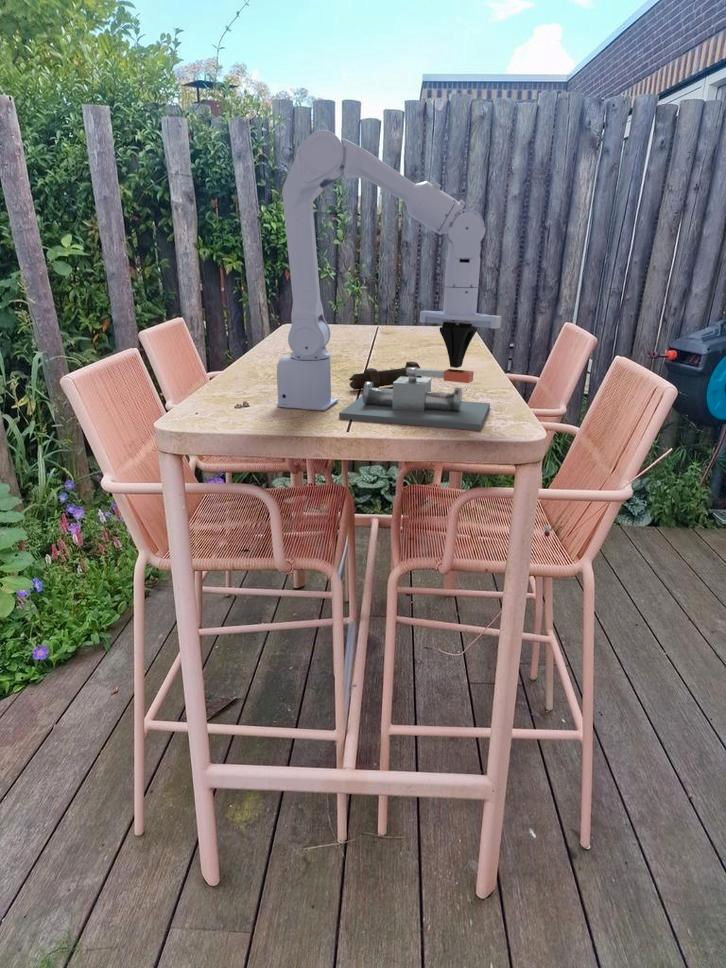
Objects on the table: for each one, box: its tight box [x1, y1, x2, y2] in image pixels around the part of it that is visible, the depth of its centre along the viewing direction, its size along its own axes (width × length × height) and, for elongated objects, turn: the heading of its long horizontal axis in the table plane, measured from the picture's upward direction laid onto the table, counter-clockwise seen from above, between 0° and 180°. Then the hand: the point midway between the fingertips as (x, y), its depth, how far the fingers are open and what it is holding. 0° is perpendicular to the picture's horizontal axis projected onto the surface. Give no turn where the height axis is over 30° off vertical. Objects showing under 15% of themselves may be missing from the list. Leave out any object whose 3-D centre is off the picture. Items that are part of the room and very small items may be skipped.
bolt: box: [348, 361, 423, 391], centre depth 124 cm, size 6×5×15 cm
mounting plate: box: [338, 394, 491, 432], centre depth 105 cm, size 24×15×1 cm, turn 73°
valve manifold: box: [362, 375, 463, 412], centre depth 104 cm, size 17×6×6 cm, turn 73°
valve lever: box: [406, 367, 474, 384], centre depth 101 cm, size 12×2×2 cm, turn 62°
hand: (455, 366), depth 106 cm, fingers closed
